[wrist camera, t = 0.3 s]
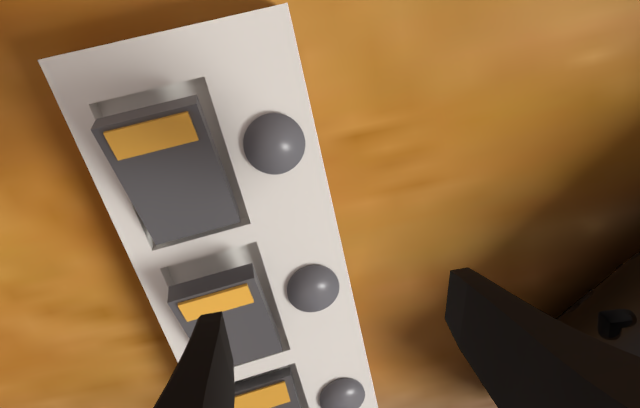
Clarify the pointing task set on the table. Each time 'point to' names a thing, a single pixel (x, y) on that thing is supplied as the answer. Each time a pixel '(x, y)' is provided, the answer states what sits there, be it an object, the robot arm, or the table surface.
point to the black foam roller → (611, 309)
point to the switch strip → (234, 187)
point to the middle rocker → (230, 310)
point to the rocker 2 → (268, 391)
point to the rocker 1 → (169, 168)
